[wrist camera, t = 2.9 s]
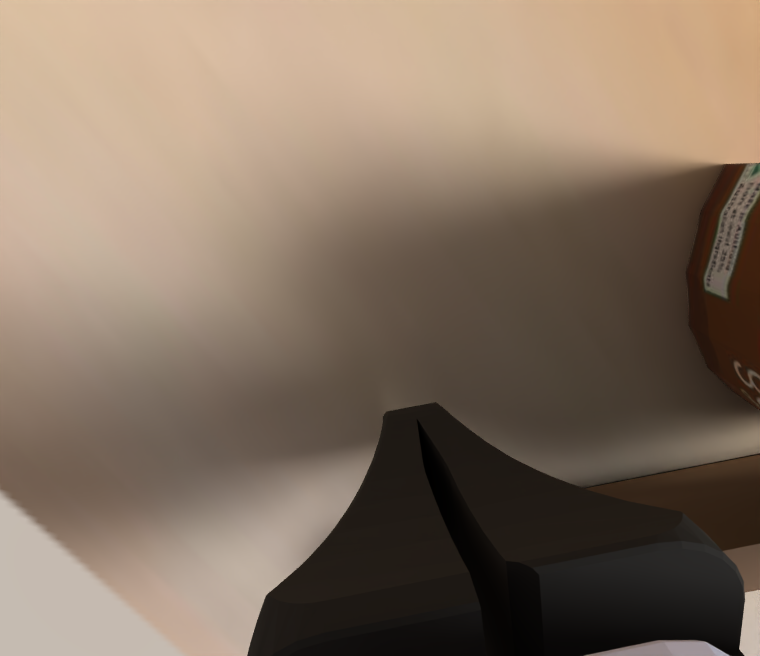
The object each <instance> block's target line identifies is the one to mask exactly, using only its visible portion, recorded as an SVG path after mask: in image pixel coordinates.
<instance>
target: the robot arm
mask: <svg viewBox="0 0 760 656" xmlns="http://www.w3.org/2000/svg"><path fill="white" fill-rule="evenodd" d="M744 602H745V593H744V581H743V578H742V576H741V574H740V572H739V570H738V567H737V565H736V564H735V563H734V562H733V561H732V560H731V559H730V558H729V557H728V556H727V555H726V554H725V553H724V552H723V551H722V550H721V549H720V548H719V547H718V546H717V544H716V543H715V542H714V541H713V540H712V539H711V538H710V537H709V536H708V535H707V534H706V533H705V532H704V531H703V530H702V529H700V528H699V527H698V526H697V525H696V524H695V523H694V522H693V521H692V520H690V519H689V518H688V517H687V516H686V515H685V514H684V513H683V512H681V511H676V510H671V509H666V508H661V507H656V506H650V505H645V504H640V503H635V502H630V501H626V500H622V499H618V498H615V497H611V496H607V495H604V494H600V493H596V492H593V491H590V490H587V489H584V488H581V487H578V486H575V485H572V484H570V483H567V482H564V481H562V480H559V479H556V478H554V477H551V476H549V475H547V474H544V473H542V472H540V471H537V470H535V469H533V468H531V467H529V466H527V465H525V464H523V463H521V462H519V461H517V460H515V459H513V458H512V457H510V456H508V455H506V454H505V453H503V452H501V451H500V450H498V449H497V448H495V447H493V446H492V445H490V444H489V443H487V442H486V441H484V440H483V439H482V438H480V437H479V436H477V435H476V434H475V433H473V432H472V431H471V430H469V429H468V428H467V427H465V426H464V425H463V424H462V423H460V422H459V421H458V420H457V419H456V418H454V417H453V416H452V415H451V414H450V413H448V412H447V411H446V410H445V409H444V408H443V407H442V406H440V405H439V404H438V403H430V404H425V405H420V406H414V407H409V408H403V409H398V410H393V411H387V412H386V413H385V414H384V416H383V424H382V430H381V435H380V439H379V442H378V445H377V448H376V451H375V454H374V457H373V460H372V463H371V465H370V467H369V469H368V472H367V474H366V476H365V478H364V481H363V483H362V485H361V487H360V489H359V491H358V492H357V494H356V496H355V498H354V499H353V501H352V503H351V504H350V506H349V508H348V509H347V511H346V512H345V514H344V515H343V517H342V518H341V519H340V521H339V522H338V524H337V525H336V527H335V528H334V529H333V531H332V532H331V533H330V534H329V536H328V537H327V538H326V539H325V541H324V542H323V543H322V544H321V545H320V546H319V547H318V548H317V549H316V551H315V552H314V553H313V554H312V555H311V556H310V557H309V558H308V559H307V560H306V561H305V562H304V563H303V564H302V565H301V566H300V567H299V568H297V569H296V570H295V571H294V572H293V573H292V574H291V575H289V576H288V577H287V578H286V579H285V580H284V581H283V582H281V583H280V584H279V585H278V586H277V587H276V588H274V589H273V590H272V591H271V592H269V593H268V594H267V596H266V598H265V600H264V603H263V605H262V608H261V611H260V614H259V617H258V620H257V623H256V626H255V630H254V633H253V636H252V640H251V643H250V647H249V651H248V655H247V656H744V655H743V653H742V652H741V651H740V650H739V645H740V637H741V628H742V620H743V611H744Z"/></svg>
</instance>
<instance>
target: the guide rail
mask: <svg viewBox="0 0 760 656" xmlns="http://www.w3.org/2000/svg"><path fill="white" fill-rule="evenodd" d="M584 489H587V490H590V491H593V492H596V493H600V494H604V495H607V496H611V497H615V498H618V499H622V500H626V501H630V502H635V503H640V504H645V505H650V506H656V507H661V508H666V509H671V510H676V511H681V512H683V513H684V514H685V515H686V516H687V517H688V518H689V519H690V520H692V521H693V522H694V523H695V524H696V525H697V526H698V527H699V528H700V529H702V530H703V531H704V532H705V533H706V534H707V535H708V536H709V537H710V538H711V539H712V540H713V541H714V542H715V543H716V544H717V546H718V547H719V548H720V549H721V550H722V551H723V552H724V553H725V554H726V555H727V556H728V557H729V558H730V559H731V560H732V561H733V562H734V563H735V564H736V565H737V567H738V570H739V572H740V574H741V576H742V578H743V581H744V593H745V592H750V591H755V590H760V455H754V456H749V457H744V458H739V459H734V460H729V461H724V462H718V463H713V464H708V465H703V466H698V467H693V468H687V469H682V470H677V471H672V472H667V473H662V474H656V475H651V476H646V477H641V478H636V479H631V480H626V481H620V482H615V483H610V484H605V485H600V486H595V487H589V488H584Z"/></svg>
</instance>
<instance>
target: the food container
mask: <svg viewBox="0 0 760 656" xmlns="http://www.w3.org/2000/svg"><path fill="white" fill-rule="evenodd" d="M686 282H687V300H688V319H689V327H690V329H691V331H692V334H693V336H694V338H695V340H696V343H697V345H698V347H699V349H700V352H701V354H702V356H703V358H704V361H705V363H706V365H707V367H708V368H709V369H710V370H711V371H712V372H713V373H714V374H715V375H716V376H717V377H718V378H719V379H720V380H721V381H722V382H723V383H724V384H726V385H727V386H728V387H729V388H730V389H731V390H732V391H733V392H735V393H736V394H738V395H739V396H740V397H742V398H743V399H744V400H746V401H747V402H749V403H750V404H751V405H753V406H754V407H756V408H757V409H758V410H760V163H745V164H725V165H724V167H723V169H722V171H721V173H720V175H719V177H718V179H717V181H716V183H715V185H714V187H713V189H712V191H711V193H710V195H709V197H708V198H707V200H706V202H705V204H704V206H703V208H702V210H701V214H700V218H699V222H698V226H697V230H696V234H695V238H694V242H693V246H692V250H691V254H690V258H689V262H688V266H687V270H686Z"/></svg>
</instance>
